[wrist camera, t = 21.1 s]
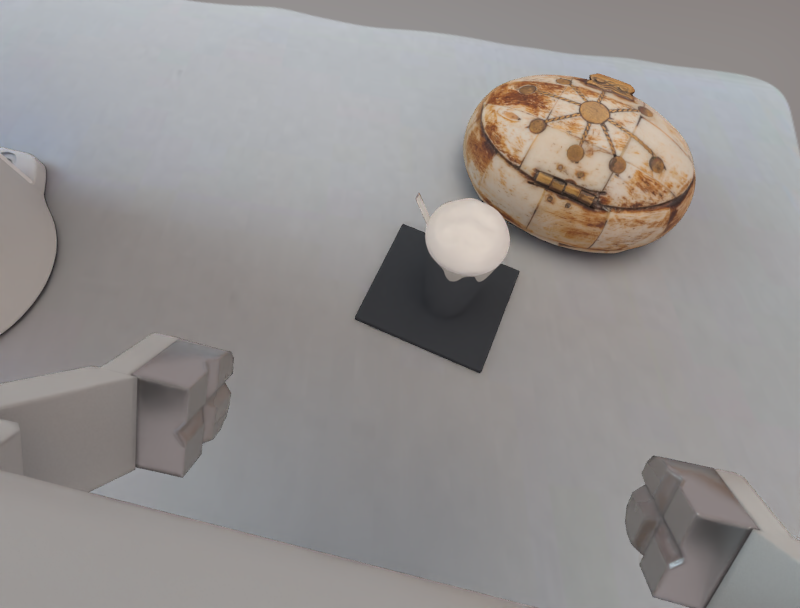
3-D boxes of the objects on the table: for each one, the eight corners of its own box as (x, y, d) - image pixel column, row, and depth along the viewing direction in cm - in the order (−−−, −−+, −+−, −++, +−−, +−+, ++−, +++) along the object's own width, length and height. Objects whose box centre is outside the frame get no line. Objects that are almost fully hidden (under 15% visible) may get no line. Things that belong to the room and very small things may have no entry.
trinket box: (676, 262, 37) (751, 199, 29) (475, 276, 35) (501, 214, 28) (626, 119, 42) (679, 36, 34) (448, 127, 40) (465, 42, 33)
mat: (355, 319, 34) (354, 317, 33) (402, 226, 37) (402, 223, 36) (479, 373, 33) (481, 371, 32) (518, 273, 36) (519, 271, 35)
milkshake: (416, 253, 35) (432, 161, 26) (488, 280, 35) (530, 196, 26) (392, 308, 34) (400, 230, 24) (467, 337, 33) (504, 269, 24)
